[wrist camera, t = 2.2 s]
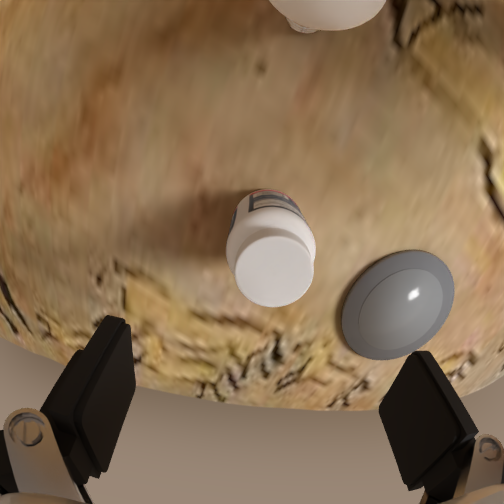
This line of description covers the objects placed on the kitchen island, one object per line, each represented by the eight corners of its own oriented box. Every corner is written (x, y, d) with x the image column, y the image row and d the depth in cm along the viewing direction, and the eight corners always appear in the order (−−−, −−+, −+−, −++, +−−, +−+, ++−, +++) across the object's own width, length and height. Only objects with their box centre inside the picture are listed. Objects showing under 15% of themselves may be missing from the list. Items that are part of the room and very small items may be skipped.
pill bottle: (264, 266, 25) (268, 335, 17) (218, 220, 23) (198, 273, 15) (315, 223, 23) (345, 276, 15) (269, 173, 22) (278, 201, 14)
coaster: (467, 260, 24) (471, 263, 24) (422, 357, 29) (424, 361, 28) (364, 239, 24) (367, 242, 23) (325, 353, 28) (326, 358, 28)
